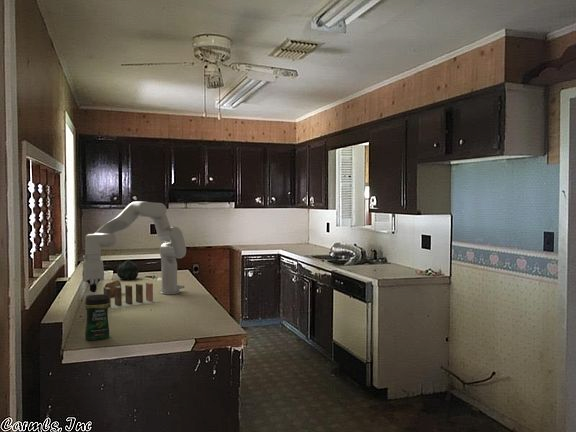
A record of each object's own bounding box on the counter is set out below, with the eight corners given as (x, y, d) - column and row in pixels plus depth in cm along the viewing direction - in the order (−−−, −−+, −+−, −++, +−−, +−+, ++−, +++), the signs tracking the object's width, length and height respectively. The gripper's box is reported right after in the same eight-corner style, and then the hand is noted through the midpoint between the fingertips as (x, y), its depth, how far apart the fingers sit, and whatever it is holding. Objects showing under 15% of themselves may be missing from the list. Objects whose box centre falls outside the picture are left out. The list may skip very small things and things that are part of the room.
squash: (125, 269, 365) (119, 256, 355) (144, 270, 362) (137, 257, 352) (117, 284, 355) (110, 271, 345) (136, 286, 352) (130, 272, 342)
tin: (108, 297, 290) (108, 283, 289) (103, 297, 290) (103, 283, 290) (121, 293, 304) (121, 279, 304) (117, 292, 305) (116, 279, 305)
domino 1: (107, 305, 267) (107, 287, 267) (110, 307, 263) (110, 288, 263) (103, 305, 266) (103, 287, 265) (106, 307, 262) (106, 289, 261)
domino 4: (139, 301, 278) (139, 283, 278) (142, 302, 275) (142, 284, 274) (135, 301, 277) (135, 283, 277) (139, 302, 273) (139, 285, 273)
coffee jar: (86, 342, 202) (85, 297, 201) (84, 337, 209) (83, 294, 208) (111, 339, 206) (110, 295, 205) (108, 334, 213) (107, 292, 212)
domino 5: (149, 299, 282) (149, 282, 282) (152, 301, 278) (152, 283, 278) (146, 300, 281) (145, 282, 281) (149, 301, 277) (149, 284, 277)
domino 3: (129, 302, 275) (128, 284, 274) (132, 303, 271) (132, 286, 270) (125, 302, 273) (125, 285, 273) (128, 304, 269) (128, 286, 269)
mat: (150, 299, 286) (150, 298, 286) (158, 302, 277) (158, 301, 277) (94, 306, 266) (94, 305, 266) (101, 310, 257) (101, 309, 257)
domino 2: (118, 303, 271) (118, 286, 270) (121, 305, 267) (121, 287, 267) (114, 304, 270) (114, 286, 269) (118, 306, 266) (117, 287, 265)
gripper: (80, 259, 251) (80, 294, 252) (109, 257, 261) (109, 291, 261) (76, 257, 257) (76, 292, 258) (104, 255, 266) (104, 289, 267)
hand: (93, 291), depth 259 cm, fingers closed
